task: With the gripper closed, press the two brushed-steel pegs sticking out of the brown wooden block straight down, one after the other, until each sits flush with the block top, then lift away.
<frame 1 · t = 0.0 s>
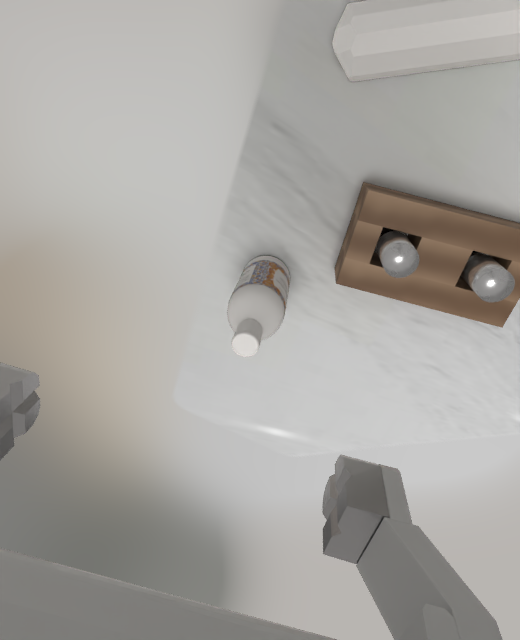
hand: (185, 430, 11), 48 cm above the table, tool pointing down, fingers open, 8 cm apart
peg a: (396, 253, 49), point 7 cm above the table, slide at 4.0 cm
crystal: (442, 31, 45), on the table
bath foam: (266, 276, 60), on the table
peg b: (486, 277, 49), point 7 cm above the table, slide at 4.0 cm
brown wooden block: (427, 248, 55), on the table
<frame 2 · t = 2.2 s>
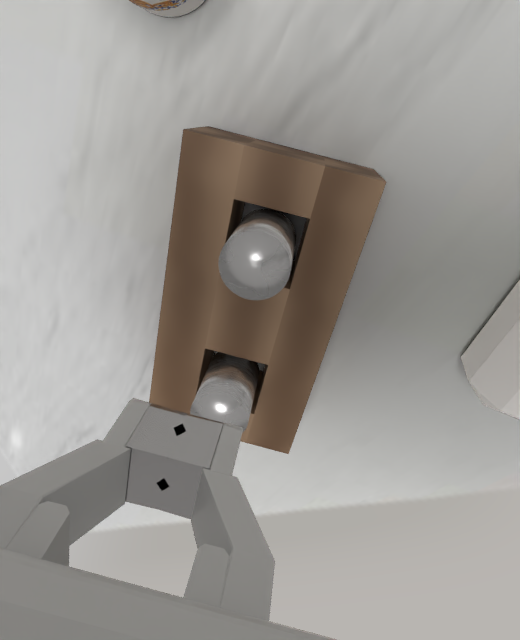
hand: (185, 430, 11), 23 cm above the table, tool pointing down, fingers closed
peg a: (260, 251, 25), point 7 cm above the table, slide at 4.0 cm
peg b: (227, 391, 30), point 7 cm above the table, slide at 4.0 cm
brown wooden block: (256, 287, 34), on the table
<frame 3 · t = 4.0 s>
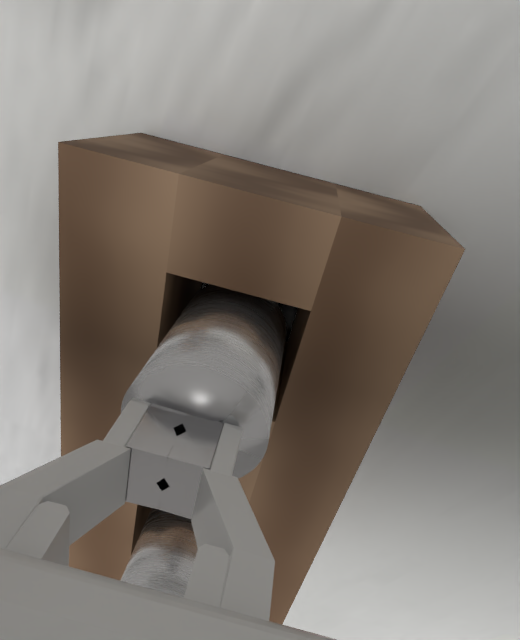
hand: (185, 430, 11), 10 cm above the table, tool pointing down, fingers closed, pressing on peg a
peg a: (218, 369, 13), point 7 cm above the table, slide at 3.9 cm, touching gripper
peg b: (175, 566, 18), point 7 cm above the table, slide at 4.0 cm
brown wooden block: (230, 378, 22), on the table
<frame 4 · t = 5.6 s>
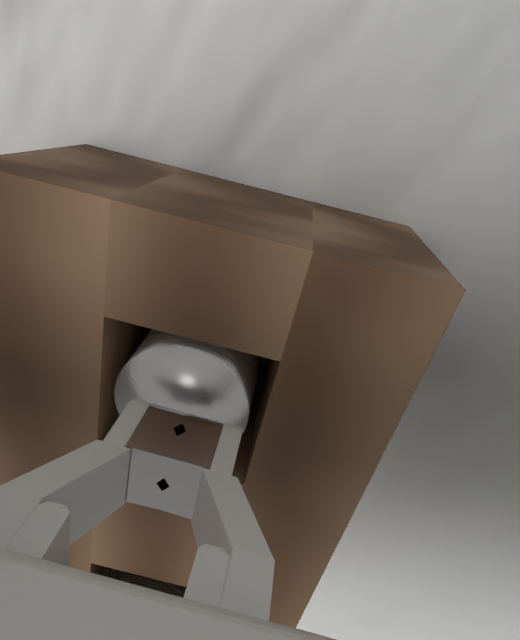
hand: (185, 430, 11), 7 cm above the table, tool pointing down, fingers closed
peg a: (203, 356, 14), point 3 cm above the table, slide at -0.1 cm
brown wooden block: (200, 416, 20), on the table
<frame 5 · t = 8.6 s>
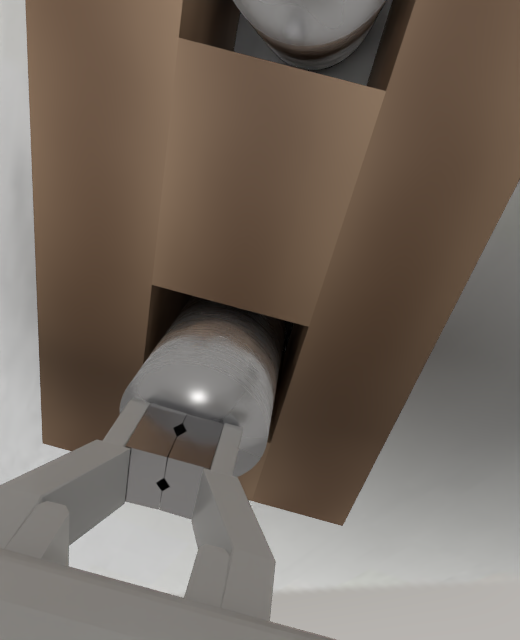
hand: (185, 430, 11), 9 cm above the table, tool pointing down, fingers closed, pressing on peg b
peg b: (217, 368, 13), point 6 cm above the table, slide at 2.7 cm, touching gripper
brown wooden block: (275, 171, 16), on the table
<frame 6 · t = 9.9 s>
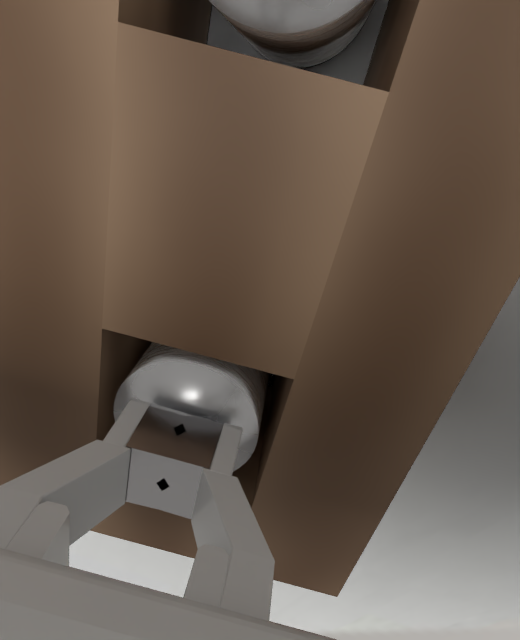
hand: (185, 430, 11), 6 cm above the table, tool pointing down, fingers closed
peg b: (209, 367, 14), point 3 cm above the table, slide at -0.1 cm
brown wooden block: (258, 185, 14), on the table
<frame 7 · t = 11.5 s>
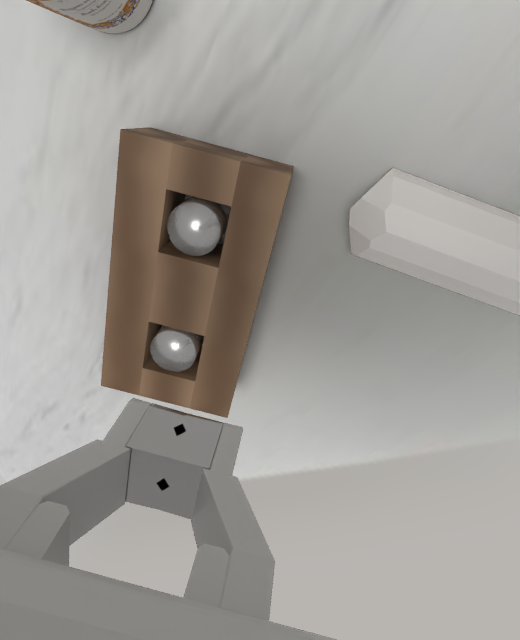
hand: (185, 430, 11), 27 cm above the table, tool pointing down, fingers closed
peg a: (202, 221, 33), point 3 cm above the table, slide at -0.1 cm
crystal: (475, 249, 35), on the table
peg b: (181, 336, 38), point 3 cm above the table, slide at -0.1 cm
brown wooden block: (199, 271, 38), on the table
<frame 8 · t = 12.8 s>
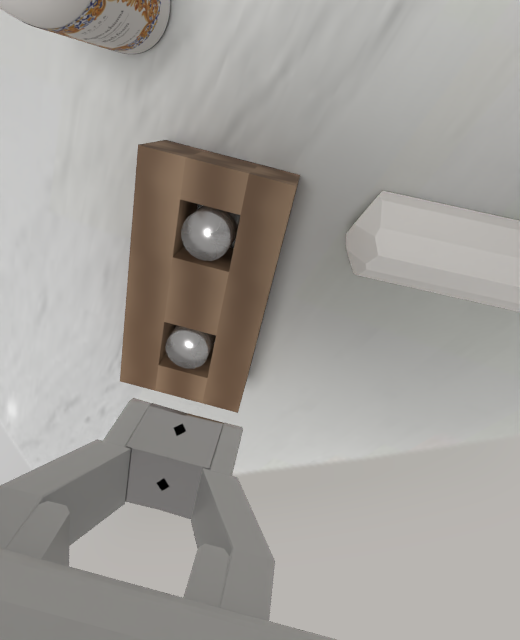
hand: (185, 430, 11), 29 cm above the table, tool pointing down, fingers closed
peg a: (213, 227, 35), point 3 cm above the table, slide at -0.1 cm
crystal: (474, 254, 37), on the table
bath foam: (129, 2, 31), on the table
peg b: (194, 335, 40), point 3 cm above the table, slide at -0.1 cm
brown wooden block: (211, 273, 40), on the table
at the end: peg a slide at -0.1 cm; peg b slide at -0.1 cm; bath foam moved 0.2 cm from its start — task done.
